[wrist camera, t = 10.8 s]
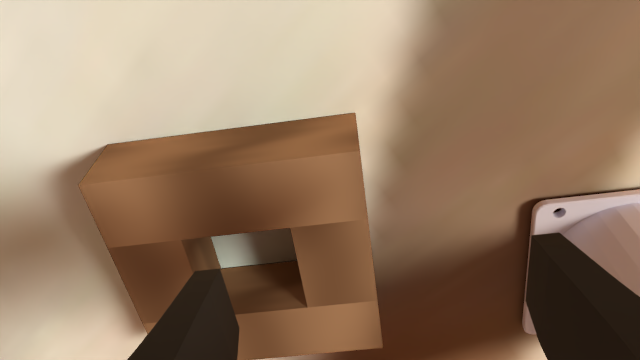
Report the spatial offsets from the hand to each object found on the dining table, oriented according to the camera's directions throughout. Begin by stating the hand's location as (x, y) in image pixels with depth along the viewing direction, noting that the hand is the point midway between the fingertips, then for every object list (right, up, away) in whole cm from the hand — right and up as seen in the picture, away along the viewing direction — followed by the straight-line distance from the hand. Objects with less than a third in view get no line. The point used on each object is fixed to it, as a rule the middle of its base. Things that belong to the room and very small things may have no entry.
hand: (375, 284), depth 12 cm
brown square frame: (-4, 0, +11) cm, 12 cm away
